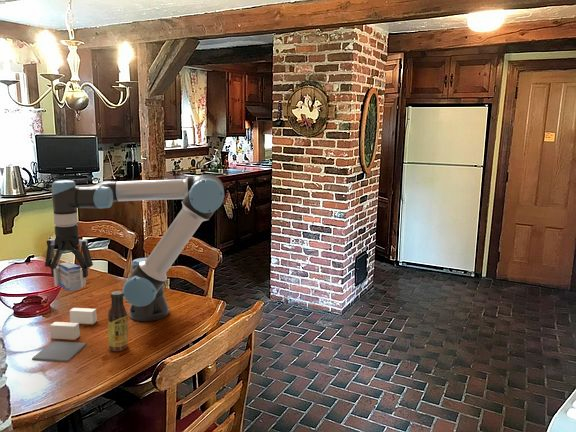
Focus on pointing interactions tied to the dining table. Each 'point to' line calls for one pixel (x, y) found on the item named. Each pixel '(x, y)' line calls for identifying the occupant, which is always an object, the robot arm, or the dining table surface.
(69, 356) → the rubber mat
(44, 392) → the dining table surface
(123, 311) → the sauce bottle
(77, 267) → the medicine box
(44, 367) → the dining table surface
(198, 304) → the dining table surface
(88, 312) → the slot stand
